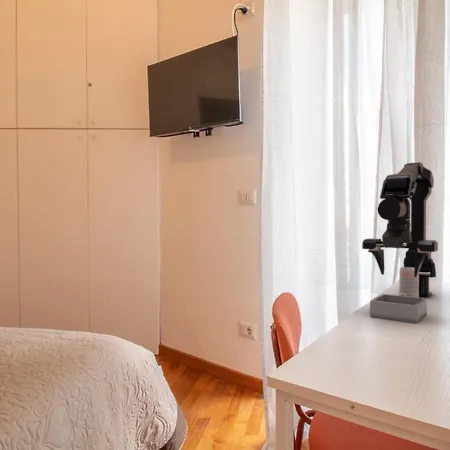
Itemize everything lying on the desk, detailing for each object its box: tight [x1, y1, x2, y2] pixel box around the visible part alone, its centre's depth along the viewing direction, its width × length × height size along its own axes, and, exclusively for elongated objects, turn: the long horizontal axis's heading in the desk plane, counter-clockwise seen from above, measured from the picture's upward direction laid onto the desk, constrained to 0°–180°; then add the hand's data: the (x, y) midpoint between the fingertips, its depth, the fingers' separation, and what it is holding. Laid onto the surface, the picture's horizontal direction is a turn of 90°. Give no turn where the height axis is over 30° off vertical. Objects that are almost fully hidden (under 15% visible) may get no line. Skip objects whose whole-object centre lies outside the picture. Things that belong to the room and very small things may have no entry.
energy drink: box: [398, 266, 420, 298], centre depth 123 cm, size 5×5×12 cm
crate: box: [369, 293, 428, 324], centre depth 113 cm, size 12×12×4 cm
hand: (398, 275), depth 113 cm, fingers open, 8 cm apart
